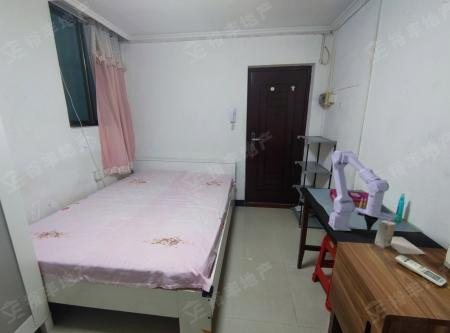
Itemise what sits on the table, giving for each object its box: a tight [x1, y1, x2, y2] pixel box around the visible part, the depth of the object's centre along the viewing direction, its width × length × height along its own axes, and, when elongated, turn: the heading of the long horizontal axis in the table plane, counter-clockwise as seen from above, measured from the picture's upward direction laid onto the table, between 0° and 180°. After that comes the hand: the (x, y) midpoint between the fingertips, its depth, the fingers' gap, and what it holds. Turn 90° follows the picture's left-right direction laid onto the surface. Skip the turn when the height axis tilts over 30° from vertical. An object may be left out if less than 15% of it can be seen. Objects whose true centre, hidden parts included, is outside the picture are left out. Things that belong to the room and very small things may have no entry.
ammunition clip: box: [357, 198, 368, 217], centre depth 137 cm, size 11×2×12 cm, turn 66°
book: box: [329, 188, 369, 208], centre depth 158 cm, size 21×28×8 cm
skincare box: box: [374, 220, 397, 249], centre depth 107 cm, size 6×4×12 cm
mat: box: [389, 236, 426, 255], centre depth 108 cm, size 12×14×1 cm
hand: (368, 229), depth 106 cm, fingers closed
